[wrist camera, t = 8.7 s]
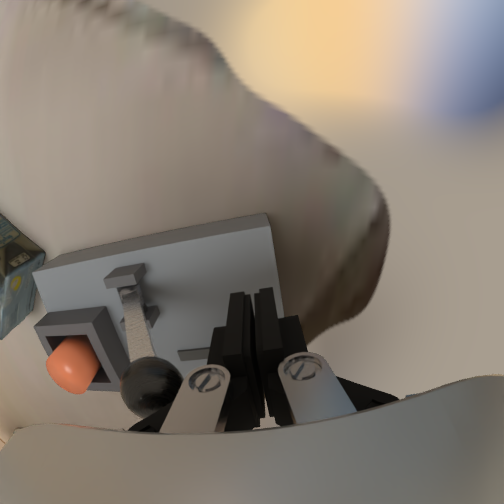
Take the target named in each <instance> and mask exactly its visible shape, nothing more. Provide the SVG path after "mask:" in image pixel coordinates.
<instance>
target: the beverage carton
mask: <svg viewBox="0 0 504 504" xmlns="http://www.w3.org/2000/svg"><path fill="white" fill-rule="evenodd" d="M44 256H45V252H44V251H43V250H42V249H40V248H39V247H38V246H37V245H36V244H34V243H33V242H32V241H31V240H29V239H28V238H27V237H26V236H25V235H23V234H22V233H21V232H20V231H19V230H18V229H17V228H16V227H14V226H13V225H12V224H11V223H10V222H9V221H8V220H7V219H6V218H4V217H3V216H2V215H1V214H0V340H2V339H3V338H4V337H5V336H6V335H7V334H8V333H9V332H10V331H11V330H12V329H13V328H15V327H16V326H17V325H19V324H20V323H21V322H22V321H23V320H24V319H25V317H26V316H27V315H28V314H29V313H30V312H31V311H32V310H33V304H34V298H35V293H36V288H37V286H36V283H35V280H34V277H33V274H32V272H34V271H35V270H37V269H38V268H40V267H41V266H42V265H43V261H44Z"/></svg>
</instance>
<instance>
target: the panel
mask: <svg viewBox="0 0 504 504" xmlns="http://www.w3.org/2000/svg"><path fill="white" fill-rule="evenodd" d="M32 274H33V277H34V280H35V283H36V286H37V288H38V291H39V293H40V296H41V299H42V301H43V303H44V306H45V308H46V311H47V314H46V315H45V316H44V317H43V318H42V319H41V320H40V321H39V322H38V323H37V324H36V325H35V326H34V329H35V331H36V333H37V335H38V337H39V339H40V341H41V343H42V345H43V347H44V349H45V351H46V353H47V355H48V356H50V355H51V354H52V353H53V352H54V350H55V349H56V348H57V347H58V346H59V344H60V343H61V342H62V341H63V340H64V339H65V338H66V336H67V335H86V334H87V336H88V338H89V340H90V342H91V344H92V347H93V349H94V351H95V353H96V355H97V357H98V359H99V361H100V363H101V364H102V365H101V367H100V368H99V370H98V371H97V373H96V375H95V376H94V378H93V380H92V381H91V383H90V385H89V386H88V388H87V390H93V391H117V392H120V380H121V376H122V373H123V372H124V370H125V368H126V367H127V366H128V365H129V364H130V356H129V350H128V343H127V335H126V328H125V319H124V310H123V305H122V303H121V300H120V297H119V294H118V292H117V289H116V288H117V287H123V286H130V285H136V284H137V283H138V282H139V284H140V287H141V290H142V293H143V296H144V299H145V302H146V305H147V308H148V310H147V312H146V313H145V317H146V321H147V324H148V328H149V331H150V334H151V338H152V341H153V344H154V348H155V351H156V354H157V357H160V358H163V359H165V360H167V361H169V362H170V363H172V364H173V365H174V366H175V367H176V368H177V369H178V370H179V371H180V373H181V374H182V376H183V378H184V379H185V377H186V376H187V375H188V374H189V373H190V372H191V371H192V370H194V369H196V368H198V367H200V366H204V365H207V360H208V355H209V349H210V344H211V339H212V334H213V329H214V328H215V327H221V326H226V321H227V314H228V306H229V299H230V293H236V292H242V291H244V292H245V295H247V294H250V295H251V300H252V305H253V310H254V316H255V306H254V293H259V289H262V288H268V287H273V292H274V298H275V304H276V310H277V316H278V318H283V317H284V311H283V304H282V298H281V291H280V284H279V278H278V271H277V265H276V259H275V252H274V246H273V240H272V234H271V228H270V224H269V221H268V218H267V215H266V213H262V214H256V215H250V216H245V217H239V218H234V219H228V220H223V221H217V222H212V223H207V224H201V225H196V226H191V227H186V228H181V229H176V230H171V231H166V232H161V233H156V234H151V235H147V236H142V237H137V238H133V239H128V240H123V241H119V242H114V243H110V244H105V245H101V246H97V247H92V248H88V249H84V250H79V251H75V252H71V253H67V254H63V255H59V256H58V257H56V258H54V259H53V260H51V261H49V262H48V263H46V264H45V265H43V266H41V267H40V268H38V269H37V270H35V271H34V272H32Z"/></svg>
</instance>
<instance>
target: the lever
mask: <svg viewBox="0 0 504 504" xmlns="http://www.w3.org/2000/svg"><path fill="white" fill-rule="evenodd" d="M116 289H117V292H118V294H119V297H120V300H121V303H122V305H123V310H124V319H125V328H126V335H127V343H128V350H129V356H130V364H129V365H128V366H127V367H126V368H125V370H124V372H123V373H122V376H121V380H120V392H121V396H122V399H123V401H124V403H125V404H126V406H127V407H128V408H129V409H130V410H131V411H132V412H133V413H134V414H136V415H137V416H139V417H141V418H143V419H145V418H146V417H148V416H150V415H151V414H153V413H155V412H156V411H158V410H160V409H161V408H163V407H164V406H166V405H168V404H169V403H171V402H172V401H174V400H175V398H176V396H177V394H178V391H179V389H180V387H181V385H182V383H183V381H184V378H183V376H182V374H181V373H180V371H179V370H178V369H177V368H176V367H175V366H174V365H173V364H172V363H170V362H169V361H167V360H165V359H163V358H160V357H157V354H156V351H155V348H154V344H153V341H152V338H151V334H150V331H149V328H148V324H147V321H146V317H145V313H146V312H147V310H148V308H147V305H146V302H145V299H144V296H143V293H142V290H141V287H140V284H139V282H138V283H137V284H136V285H130V286H123V287H117V288H116Z"/></svg>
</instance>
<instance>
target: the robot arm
mask: <svg viewBox="0 0 504 504" xmlns="http://www.w3.org/2000/svg"><path fill="white" fill-rule="evenodd" d="M254 306H255V316H254V310H253V305H252V300H251V295H250V294H247V295H245V292H244V291H242V292H236V293H230V299H229V306H228V314H227V321H226V326H221V327H215V328H214V329H213V334H212V339H211V344H210V349H209V355H208V360H207V365H204V366H200V367H198V368H196V369H194V370H192V371H191V372H190V373H189V374H188V375H187V376H186V377H185V379H184V381H183V383H182V385H181V387H180V389H179V391H178V394H177V396H176V398H175V400H174V401H172V402H171V403H169V404H168V405H166V406H164V407H163V408H161V409H160V410H158V411H156V412H155V413H153V414H151V415H150V416H148V417H146V418H145V419H143V420H141V421H140V422H138V423H136V424H135V425H133V426H132V427H131V428H129V430H128V431H125V430H124V429H115V430H113V429H104V428H96V427H86V426H78V425H70V424H57V423H52V424H38V425H31V426H28V427H25V428H22V429H21V428H17V429H15V431H14V433H13V435H12V436H11V438H10V439H9V440H8V441H7V443H6V444H5V445H4V447H3V448H2V450H1V451H0V504H504V375H501V374H492V375H483V376H476V377H471V378H467V379H462V380H459V381H456V382H452V383H449V384H445V385H442V386H440V387H437V388H434V389H431V390H428V391H425V392H423V393H418V394H411V395H406V397H405V398H404V399H401V400H399V399H398V398H397V397H395V396H393V395H391V394H388V393H385V392H382V391H378V390H375V389H372V388H369V387H366V386H363V385H360V384H357V383H354V382H351V381H349V380H346V379H343V378H340V377H337V376H335V374H334V373H333V371H332V370H331V368H330V366H329V365H328V363H327V361H326V360H325V359H324V358H323V357H322V356H320V355H318V354H316V353H311V352H308V350H307V346H306V343H305V339H304V336H303V332H302V329H301V325H300V322H299V318H298V315H295V316H289V317H283V318H278V316H277V310H276V304H275V298H274V292H273V287H268V288H262V289H259V293H254ZM264 393H265V397H266V402H267V407H268V411H269V416H270V417H275V421H276V424H278V425H280V427H273V428H264V429H255V430H252V429H253V428H254V427H260V418H265V401H264Z"/></svg>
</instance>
